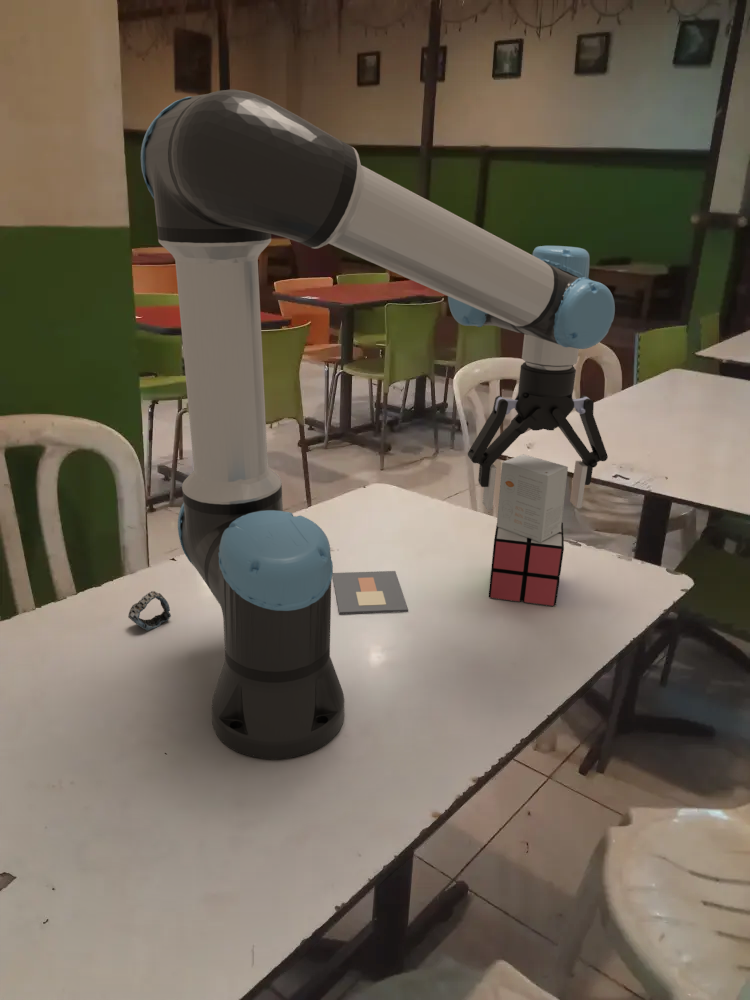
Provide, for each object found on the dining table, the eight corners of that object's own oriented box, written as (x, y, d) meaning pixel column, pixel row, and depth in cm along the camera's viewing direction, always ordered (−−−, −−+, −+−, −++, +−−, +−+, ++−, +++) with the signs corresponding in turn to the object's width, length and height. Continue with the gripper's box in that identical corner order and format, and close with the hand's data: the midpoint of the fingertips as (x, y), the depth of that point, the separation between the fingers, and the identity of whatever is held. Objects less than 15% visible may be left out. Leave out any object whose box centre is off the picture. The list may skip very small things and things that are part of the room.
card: (339, 614, 112) (339, 611, 112) (332, 575, 123) (332, 572, 123) (408, 611, 113) (408, 608, 113) (395, 573, 124) (395, 570, 124)
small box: (561, 532, 117) (570, 466, 113) (540, 543, 113) (548, 475, 109) (516, 516, 122) (523, 452, 118) (495, 526, 118) (501, 461, 114)
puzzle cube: (555, 608, 116) (564, 547, 112) (488, 599, 118) (494, 539, 114) (555, 577, 125) (563, 520, 121) (492, 569, 127) (498, 513, 123)
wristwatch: (148, 628, 109) (123, 614, 106) (173, 601, 110) (149, 585, 106) (156, 640, 107) (131, 626, 104) (182, 612, 108) (158, 596, 104)
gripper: (622, 358, 113) (601, 494, 121) (454, 357, 110) (444, 497, 118) (646, 370, 106) (622, 513, 114) (467, 369, 103) (455, 517, 111)
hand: (531, 505), depth 116 cm, fingers open, 13 cm apart
